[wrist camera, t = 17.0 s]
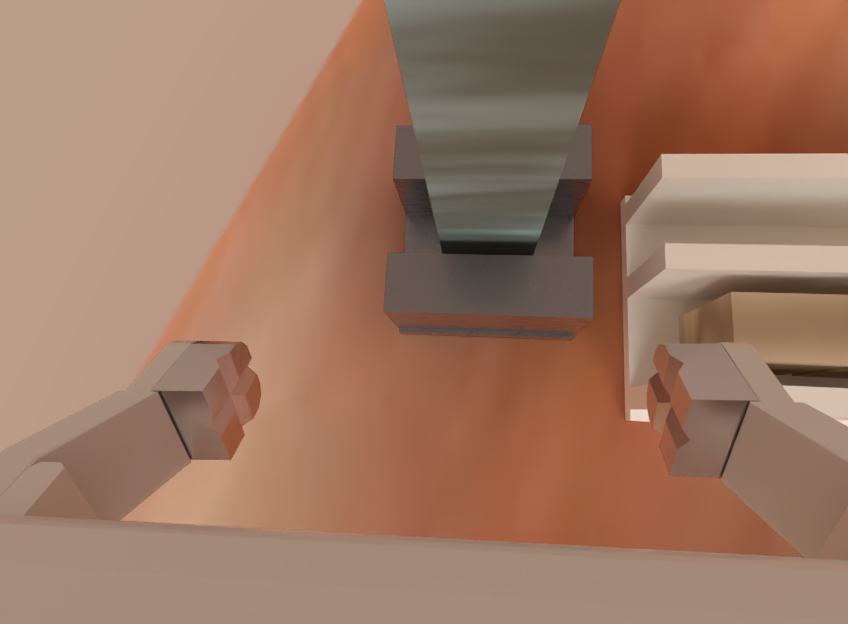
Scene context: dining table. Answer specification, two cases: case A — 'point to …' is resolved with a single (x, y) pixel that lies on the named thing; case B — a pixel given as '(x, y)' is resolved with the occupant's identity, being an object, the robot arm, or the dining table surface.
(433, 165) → the teal board
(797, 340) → the birch offcut
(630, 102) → the dining table surface
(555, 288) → the charcoal holder
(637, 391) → the white rack
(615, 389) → the dining table surface
